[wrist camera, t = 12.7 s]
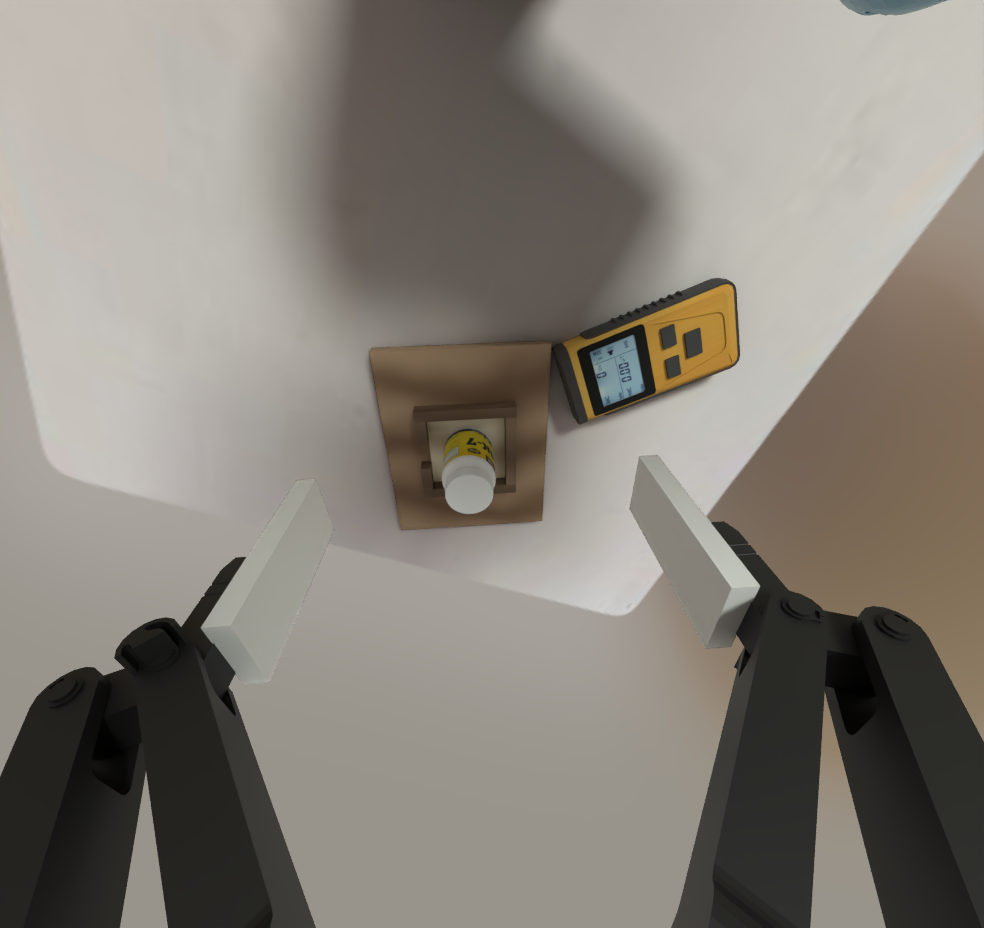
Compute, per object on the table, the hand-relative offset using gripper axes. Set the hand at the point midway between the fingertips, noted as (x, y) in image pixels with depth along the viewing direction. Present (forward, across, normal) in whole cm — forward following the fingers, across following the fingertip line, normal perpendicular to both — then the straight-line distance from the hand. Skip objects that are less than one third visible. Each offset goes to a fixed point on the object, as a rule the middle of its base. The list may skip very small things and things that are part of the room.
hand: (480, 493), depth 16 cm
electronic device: (+24, +16, -2) cm, 28 cm away
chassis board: (+22, -2, -10) cm, 24 cm away
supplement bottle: (+21, -1, -10) cm, 23 cm away
